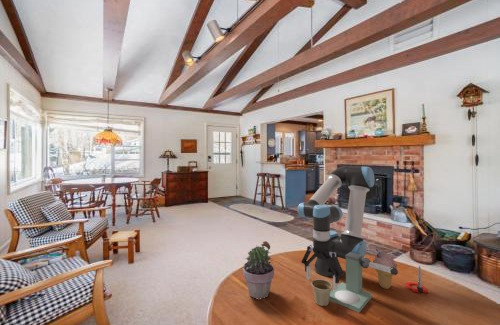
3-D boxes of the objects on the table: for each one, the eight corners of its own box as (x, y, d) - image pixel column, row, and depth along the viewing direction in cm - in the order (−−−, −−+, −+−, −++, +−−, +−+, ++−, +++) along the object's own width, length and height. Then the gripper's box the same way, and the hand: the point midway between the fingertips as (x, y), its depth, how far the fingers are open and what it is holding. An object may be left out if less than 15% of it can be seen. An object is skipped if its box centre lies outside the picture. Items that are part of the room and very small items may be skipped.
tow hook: (402, 283, 129) (411, 292, 120) (402, 259, 130) (411, 266, 120) (420, 285, 128) (430, 294, 119) (419, 260, 128) (429, 267, 119)
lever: (359, 266, 116) (359, 258, 116) (362, 264, 118) (362, 256, 118) (396, 278, 105) (396, 268, 105) (398, 275, 107) (398, 266, 107)
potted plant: (233, 302, 114) (232, 250, 114) (248, 282, 132) (247, 237, 132) (270, 310, 108) (269, 255, 107) (280, 287, 126) (279, 240, 126)
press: (326, 299, 115) (326, 259, 115) (341, 285, 127) (341, 249, 127) (358, 313, 105) (358, 269, 104) (372, 297, 117) (372, 257, 116)
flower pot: (332, 298, 116) (332, 280, 116) (332, 310, 107) (332, 291, 107) (312, 295, 119) (312, 277, 119) (310, 306, 110) (310, 287, 110)
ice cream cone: (387, 294, 119) (387, 254, 118) (368, 283, 129) (368, 246, 128) (401, 288, 124) (401, 250, 123) (382, 279, 133) (382, 243, 133)
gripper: (294, 234, 119) (294, 277, 119) (344, 247, 101) (344, 297, 101) (302, 231, 124) (302, 272, 124) (351, 243, 106) (351, 291, 107)
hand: (321, 284), depth 113 cm, fingers open, 13 cm apart
